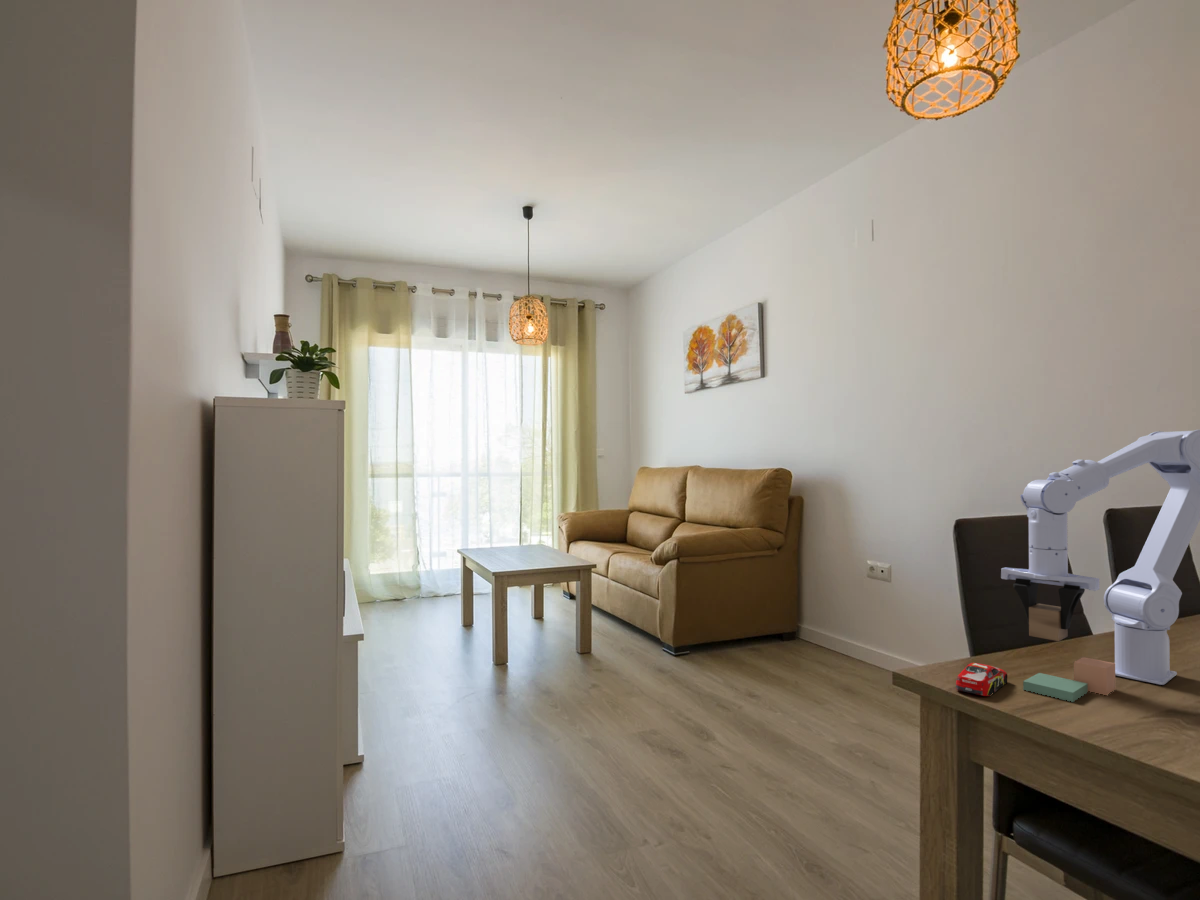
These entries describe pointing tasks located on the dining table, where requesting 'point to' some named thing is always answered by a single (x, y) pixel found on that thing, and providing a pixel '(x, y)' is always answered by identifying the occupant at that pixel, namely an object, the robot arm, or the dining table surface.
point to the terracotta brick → (1095, 674)
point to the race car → (981, 679)
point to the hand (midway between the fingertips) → (1048, 625)
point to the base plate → (1055, 687)
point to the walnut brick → (1046, 622)
